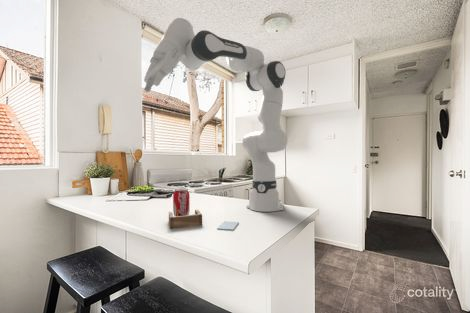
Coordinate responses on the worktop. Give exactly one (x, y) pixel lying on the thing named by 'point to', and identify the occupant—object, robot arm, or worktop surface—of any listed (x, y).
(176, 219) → the can rack
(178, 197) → the soda can
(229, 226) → the slate card
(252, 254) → the worktop surface
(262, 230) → the worktop surface
